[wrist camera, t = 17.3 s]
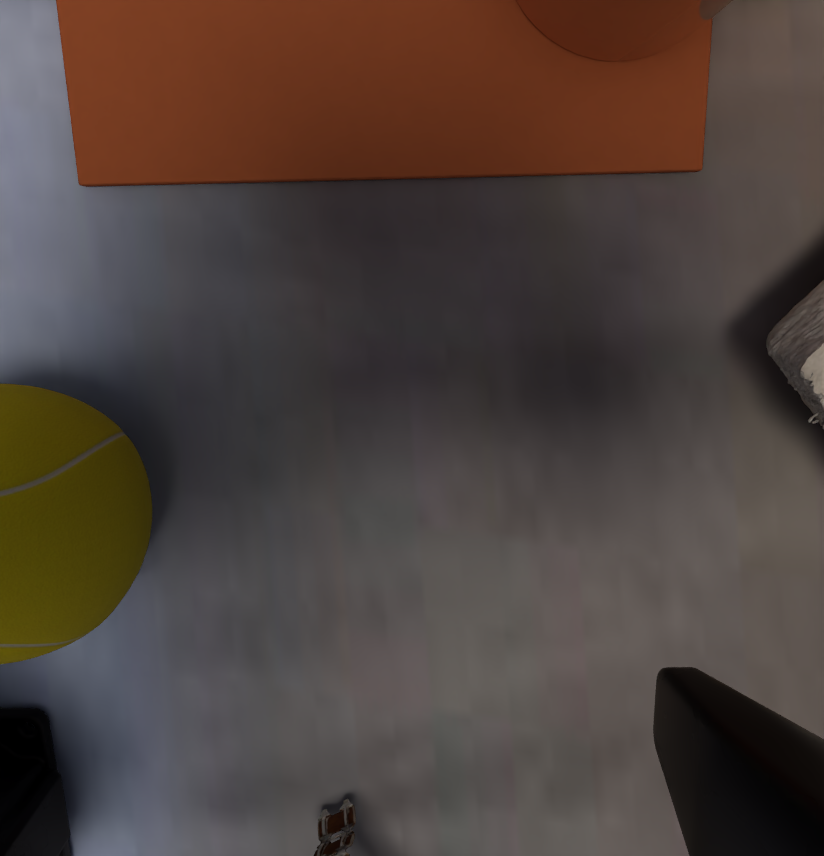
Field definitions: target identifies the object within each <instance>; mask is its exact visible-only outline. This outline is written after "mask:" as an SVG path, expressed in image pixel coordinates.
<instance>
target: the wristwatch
mask: <svg viewBox="0 0 824 856" xmlns="http://www.w3.org/2000/svg"><path fill="white" fill-rule="evenodd" d="M340 811H341V812H339V813H336V814H334V815H331V814H329V813H328V812H327V809H325V810H323V811H322V814H321V816H320V817H319V819H318V821H319V822H318V836H319V840H320V841H321V844H320V845H319V846H318V847H317V849H318V850H316V852H315V854H314V856H330V855H331V856H350V855H349V854H348V853H347V852H346V849H347V848H348V847H350V846H351V845H352V844H353V841H354V836H355V834H354V832H353V831H352V828H353V827H354V825H355V823H356V815H355V807H354V805H353V804H351V803H350V802H349V800H348V799H346V800H344V801H343V805H342V807H341V809H340ZM341 830H342V831H344V833H341V834H339V835H337V836H335V837H333V838H331V836H332V835H333V834H334V833H336V832H339V831H341ZM338 837H340V839H339V840H337V841H335V842H333V843H331V842H330V841H331V840H333V839H335V838H338ZM335 853H336V854H335ZM333 854H334V855H333Z"/></svg>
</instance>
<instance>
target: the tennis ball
mask: <svg viewBox="0 0 824 856" xmlns="http://www.w3.org/2000/svg"><path fill="white" fill-rule="evenodd" d="M151 525H152V498H151V491H150V485H149V481H148V477H147V473H146V470H145V467H144V465H143V462H142V460H141V458H140V455H139V453H138V452H137V450H136V448H135V446H134V445H133V443H132V442H131V440H130V439H129V438H128V437H127V436H126V435H125V434H124V433H123V431H122V430H121V428H120V427H119V426H118V425H117V424H115V423H114V422H113V421H112V420H111V419H109V418H108V417H107V416H105V415H104V414H102V413H101V412H100V411H98V410H96V409H95V408H93V407H91V406H89V405H88V404H86V403H84V402H82V401H79V400H77V399H75V398H73V397H70V396H67V395H65V394H62V393H58V392H55V391H51V390H48V389H44V388H39V387H34V386H26V385H16V384H0V664H6V663H13V662H19V661H23V660H27V659H31V658H35V657H38V656H41V655H44V654H47V653H50V652H52V651H55V650H57V649H59V648H62V647H64V646H66V645H68V644H71V643H73V642H74V641H76V640H78V639H80V638H82V637H83V636H85V635H86V634H88V633H89V632H90V631H92V630H93V629H95V628H96V627H97V626H99V625H100V624H101V623H102V622H103V621H104V620H105V619H106V618H107V617H108V616H109V615H110V614H111V613H112V612H113V610H114V609H115V608H116V607H117V605H118V604H119V603H120V601H121V600H122V599H123V597H124V596H125V594H126V593H127V591H128V590H129V588H130V587H131V585H132V583H133V581H134V580H135V578H136V576H137V574H138V572H139V570H140V568H141V565H142V563H143V560H144V557H145V554H146V551H147V548H148V544H149V539H150V533H151Z"/></svg>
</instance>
